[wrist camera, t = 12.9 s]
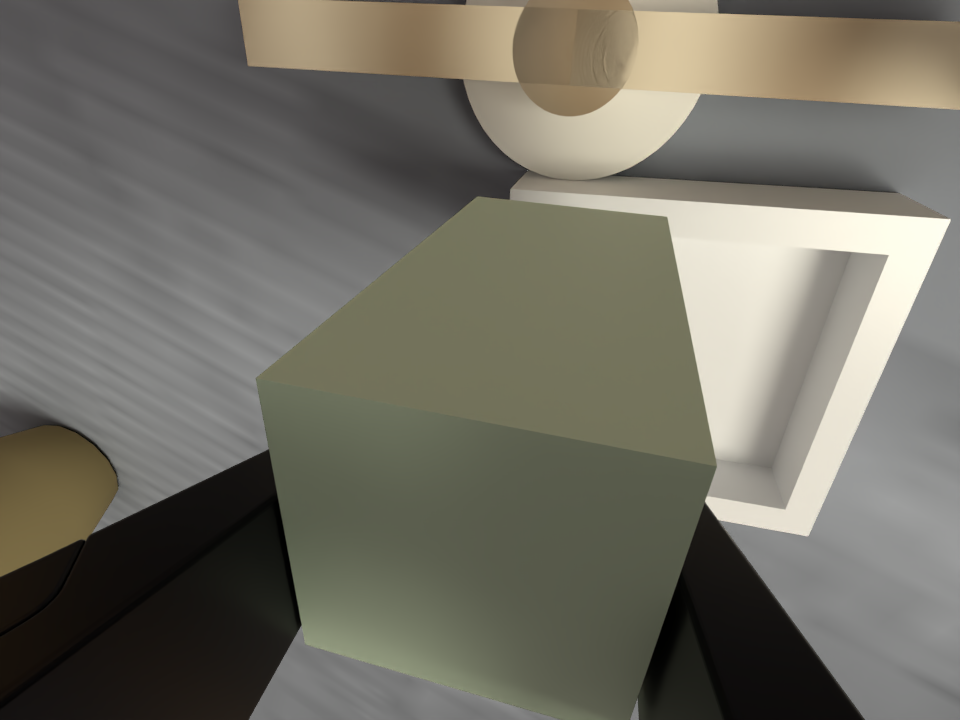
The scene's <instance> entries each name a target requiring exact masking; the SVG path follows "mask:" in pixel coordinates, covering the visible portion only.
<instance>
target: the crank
mask: <svg viewBox="0 0 960 720" xmlns="http://www.w3.org/2000/svg"><path fill="white" fill-rule="evenodd" d="M238 3H239V10H240V16H241V23H242V30H243V36H244V43H245V49H246V56H247V63H248V66H257V67H273V68H290V69H306V70H322V71H339V72H355V73H371V74H387V75H404V76H420V77H436V78H453V79H469V80H485V81H501V82H518V83H520V85H521V87H522V89H523V90H524V92H525V93H526V95H527V96H528V97H529V98H530V99H531V100H532V101H533V102H534V103H535V104H536V105H537V106H539V107H540V108H542V109H543V110H545V111H547V112H550V113H552V114H555V115H559V116H580V115H584V114H588V113H591V112H593V111H595V110H597V109H599V108H601V107H602V106H604V105H605V104H607V103H608V102H609V101H610V100H612V99H613V98H614V97H615V96H616V95H617V94H618V92H619V91H620V90H621V89H632V90H648V91H664V92H681V93H697V94H713V95H730V96H746V97H762V98H778V99H795V100H811V101H827V102H844V103H860V104H876V105H893V106H909V107H925V108H941V109H958V110H960V22H949V21H919V20H890V19H861V18H831V17H802V16H773V15H744V14H714V13H685V12H656V11H633V8H632V6H631V4H630V2H629V0H529V1H528V3H527V4H526V6H525V7H509V6H480V5H451V4H421V3H392V2H363V1H334V0H238Z"/></svg>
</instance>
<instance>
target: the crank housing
mask: <svg viewBox="0 0 960 720" xmlns="http://www.w3.org/2000/svg"><path fill="white" fill-rule="evenodd" d="M528 1H529V0H467V1H466V5H480V6H509V7H525V6H526V4H527V3H528ZM629 2H630V4H631V6H632V8H633V11H656V12H685V13H714V14H718V1H717V0H629ZM463 80H464V85H465V88H466V92H467V95H468V99H469V101H470V104H471V106H472V109H473V111H474V113H475V115H476V117H477V119H478V121H479V122H480V124H481V126H482V128H483V129H484V131H485V132H486V133H487V135H488V136H489V137H490V139H491V140H492V141H493V142H494V143H495V144H496V145H497V146H498V147H499V149H500V150H501V151H502V152H504V153H505V154H506V155H507V156H509V157H510V158H511V159H512V160H514V161H515V162H517V163H518V164H520V165H522V166H523V167H525V168H527V169H529V170H531V171H533V172H536V173H538V174H540V175H544V176H548V177H551V178H556V179H563V180H590V179H597V178H602V177H605V176H609V175H613V174H616V173H618V172H621V171H623V170H625V169H628V168H630V167H632V166H634V165H635V164H637V163H639V162H641V161H642V160H644V159H646V158H647V157H648V156H650V155H651V154H652V153H654V152H655V151H656V150H658V149H659V148H660V147H661V146H662V145H663V144H664V143H665V142H666V141H667V140H669V139H670V138H671V137H672V135H673V134H674V133H675V132H676V131H677V130H678V128H679V127H680V126H681V125H682V124H683V122H684V121H685V120H686V118H687V117H688V115H689V114H690V112H691V111H692V109H693V108H694V106H695V104H696V102H697V100H698V98H699V96H700V94H697V93H681V92H664V91H648V90H632V89H621V90H620V91H619V92H618V94H617V95H616V96H615V97H614V98H613V99H612V100H610V101H609V102H608V103H607V104H605V105H604V106H602V107H601V108H599V109H597V110H595V111H593V112H591V113H588V114H584V115H580V116H559V115H555V114H552V113H550V112H547V111H545V110H543V109H542V108H540V107H539V106H537V105H536V104H535V103H534V102H533V101H532V100H531V99H530V98H529V97H528V96H527V95H526V93H525V92H524V90H523V89H522V87H521V85H520V83H518V82H501V81H485V80H469V79H463Z"/></svg>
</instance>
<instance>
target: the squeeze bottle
mask: <svg viewBox="0 0 960 720" xmlns="http://www.w3.org/2000/svg"><path fill="white" fill-rule="evenodd" d="M117 490H118V484H117V477H116V474H115V472H114V471H113V469H112V467H111V465H110V463H109V462H108V460H107V459H106V458H105V457H104V456H103V455H102V454H101V452H100V451H99V450H98V449H97V448H96V447H95V446H94V445H93V444H91V443H90V442H88V441H87V440H86V439H84V438H83V437H81V436H80V435H78V434H77V433H75V432H73V431H70V430H68V429H65V428H63V427H60V426H51V425H43V426H39V427H36V428H32V429H28V430H25V431H21V432H18V433H14V434H11V435H7V436H4V437H0V577H1V576H3V575H5V574H8V573H10V572H12V571H14V570H16V569H18V568H21V567H23V566H25V565H27V564H29V563H31V562H34V561H36V560H38V559H40V558H42V557H44V556H47V555H49V554H51V553H53V552H55V551H57V550H59V549H61V548H63V547H65V546H67V545H70V544H72V543H74V542H76V541H78V540H80V539H83V540H86V539H87V537H88V536H89V535H91V534H92V532H93V530H94V529H95V527H96V526H97V524H98V522H99V521H100V519H101V518H102V516H103V514H104V513H105V511H106V510H107V508H108V506H109V505H110V503H111V501H112V500H113V498H114V496H115V494H116V492H117Z"/></svg>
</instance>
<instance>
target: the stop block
mask: <svg viewBox="0 0 960 720" xmlns="http://www.w3.org/2000/svg"><path fill="white" fill-rule="evenodd" d="M256 382H257V388H258V393H259V398H260V404H261V409H262V414H263V420H264V425H265V431H266V436H267V441H268V447H269V452H270V457H271V463H272V468H273V473H274V479H275V484H276V490H277V495H278V500H279V506H280V511H281V516H282V522H283V527H284V533H285V538H286V543H287V549H288V554H289V559H290V565H291V570H292V576H293V581H294V586H295V592H296V597H297V602H298V608H299V613H300V619H301V624H302V629H303V635H304V640H305V644H306V645H309V646H312V647H316V648H319V649H323V650H326V651H329V652H333V653H336V654H340V655H343V656H346V657H350V658H353V659H357V660H360V661H363V662H367V663H370V664H374V665H377V666H380V667H384V668H387V669H391V670H394V671H397V672H401V673H404V674H408V675H411V676H414V677H418V678H421V679H425V680H428V681H431V682H435V683H438V684H442V685H445V686H448V687H452V688H455V689H459V690H462V691H465V692H469V693H472V694H476V695H479V696H482V697H486V698H489V699H493V700H496V701H499V702H503V703H506V704H510V705H513V706H516V707H520V708H523V709H527V710H530V711H533V712H537V713H540V714H544V715H547V716H550V717H554V718H557V719H561V720H630V718H631V715H632V712H633V709H634V707H635V704H636V701H637V698H638V695H639V692H640V689H641V686H642V683H643V680H644V677H645V675H646V672H647V669H648V666H649V663H650V660H651V657H652V654H653V651H654V648H655V645H656V643H657V640H658V637H659V634H660V631H661V628H662V625H663V622H664V619H665V616H666V614H667V611H668V608H669V605H670V602H671V599H672V596H673V593H674V590H675V587H676V584H677V582H678V579H679V576H680V573H681V570H682V567H683V564H684V561H685V558H686V555H687V552H688V550H689V547H690V544H691V541H692V538H693V535H694V532H695V529H696V526H697V523H698V521H699V518H700V515H701V512H702V509H703V506H704V503H705V500H706V497H707V494H708V491H709V489H710V486H711V483H712V480H713V477H714V474H715V471H716V468H717V463H716V458H715V453H714V448H713V443H712V438H711V433H710V428H709V423H708V418H707V413H706V408H705V403H704V398H703V393H702V388H701V383H700V378H699V373H698V368H697V363H696V358H695V353H694V348H693V343H692V338H691V333H690V328H689V323H688V318H687V313H686V308H685V303H684V298H683V293H682V288H681V283H680V278H679V273H678V268H677V263H676V258H675V253H674V248H673V243H672V238H671V233H670V228H669V223H668V218H667V217H665V216H656V215H646V214H637V213H628V212H618V211H609V210H600V209H590V208H581V207H572V206H562V205H553V204H544V203H534V202H525V201H516V200H506V199H497V198H488V197H478V196H477V197H476V198H475V199H474V200H472V201H471V202H470V203H469V204H468V205H466V206H465V207H464V208H463V209H461V210H460V211H459V212H458V213H457V214H455V215H454V216H453V217H452V218H450V219H449V220H448V221H447V222H446V223H444V224H443V225H442V226H441V227H440V228H438V229H437V230H436V231H435V232H433V233H432V234H431V235H430V236H429V237H427V238H426V239H425V240H424V241H422V242H421V243H420V244H419V245H418V246H416V247H415V248H414V249H413V250H411V251H410V252H409V253H408V254H407V255H405V256H404V257H403V258H402V259H401V260H399V261H398V262H397V263H396V264H394V265H393V266H392V267H391V268H390V269H388V270H387V271H386V272H385V273H383V274H382V275H381V276H380V277H379V278H377V279H376V280H375V281H374V282H372V283H371V284H370V285H369V286H368V287H366V288H365V289H364V290H363V291H361V292H360V293H359V294H358V295H357V296H355V297H354V298H353V299H352V300H351V301H349V302H348V303H347V304H346V305H344V306H343V307H342V308H341V309H340V310H338V311H337V312H336V313H335V314H333V315H332V316H331V317H330V318H329V319H327V320H326V321H325V322H324V323H322V324H321V325H320V326H319V327H318V328H316V329H315V330H314V331H313V332H312V333H310V334H309V335H308V336H307V337H305V338H304V339H303V340H302V341H301V342H299V343H298V344H297V345H296V346H294V347H293V348H292V349H291V350H290V351H288V352H287V353H286V354H285V355H283V356H282V357H281V358H280V359H279V360H277V361H276V362H275V363H274V364H273V365H271V366H270V367H269V368H268V369H266V370H265V371H264V372H263V373H262V374H260V375H259V376H258V377H257V378H256Z"/></svg>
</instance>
